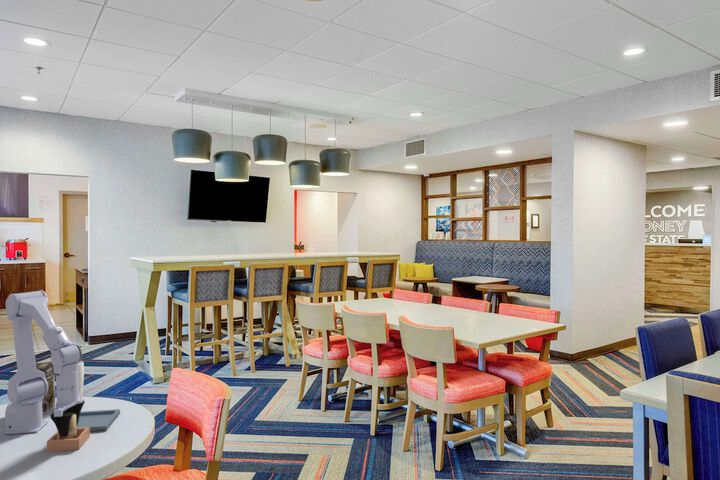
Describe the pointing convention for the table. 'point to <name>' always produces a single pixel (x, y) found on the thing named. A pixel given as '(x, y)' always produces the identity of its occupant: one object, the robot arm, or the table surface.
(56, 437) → the hollow square frame
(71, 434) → the maple peg
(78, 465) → the table surface
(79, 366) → the white cylindrical piece
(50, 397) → the coffee box
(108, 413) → the slate tray
